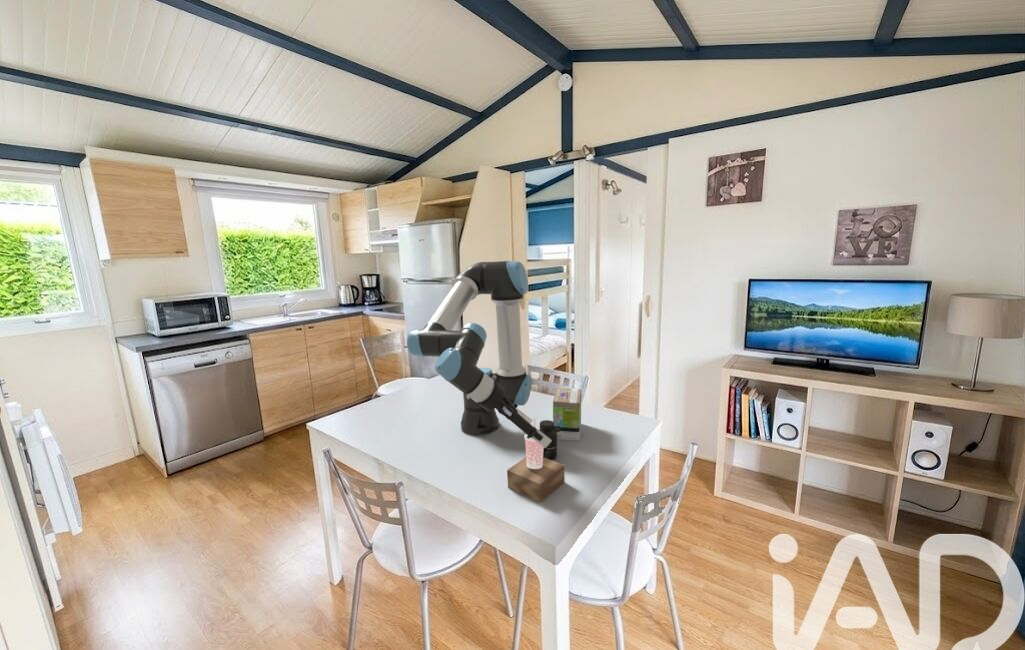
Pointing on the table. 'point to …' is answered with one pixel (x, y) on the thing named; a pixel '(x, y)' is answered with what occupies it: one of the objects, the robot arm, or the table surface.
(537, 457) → the beverage cup
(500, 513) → the table surface
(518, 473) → the walnut block
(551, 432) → the supplement bottle
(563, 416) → the tea box
